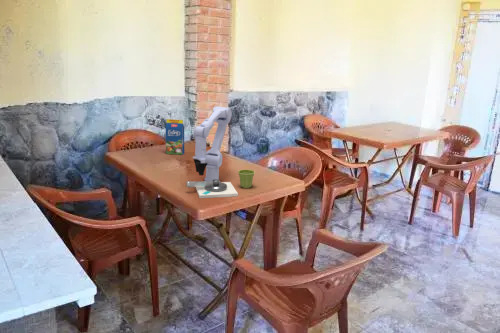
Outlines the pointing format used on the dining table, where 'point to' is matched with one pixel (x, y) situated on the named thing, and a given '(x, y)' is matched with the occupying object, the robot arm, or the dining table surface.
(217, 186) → the crank handle
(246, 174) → the plant pot
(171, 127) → the blue food package
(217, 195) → the base board
